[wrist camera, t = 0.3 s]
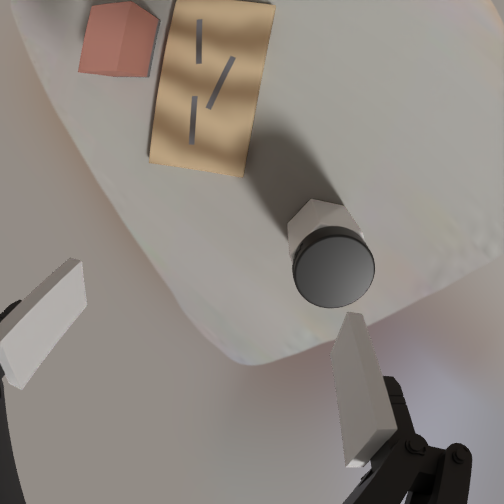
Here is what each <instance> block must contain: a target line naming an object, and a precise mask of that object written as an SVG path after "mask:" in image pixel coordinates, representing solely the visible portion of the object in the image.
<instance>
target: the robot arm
mask: <svg viewBox="0 0 504 504" xmlns="http://www.w3.org/2000/svg"><path fill="white" fill-rule="evenodd" d="M86 306H87V301H86V294H85V286H84V277H83V268H82V261H81V260H77V259H73V258H69V259H68V260H67V261H66V262H65V263H63V264H62V265H61V266H60V267H59V268H58V269H56V270H55V271H54V272H53V273H52V274H51V275H50V276H48V277H47V278H46V279H45V280H44V281H43V282H42V283H41V284H40V285H39V286H37V287H36V288H35V289H34V290H33V291H32V292H31V293H30V294H29V295H28V296H27V297H26V298H25V299H24V300H18V301H16V302H14V303H12V304H11V305H9V306H8V307H7V308H6V309H5V310H4V312H2V313H1V314H0V504H26V502H25V499H24V496H23V492H22V489H21V485H20V481H19V478H18V474H17V469H16V465H15V461H14V456H13V451H12V446H11V441H10V435H9V429H8V422H7V415H6V406H5V398H4V386H3V382H2V377H3V376H4V375H5V376H6V378H7V380H8V382H9V384H11V385H13V386H15V387H17V388H19V389H20V390H22V389H23V388H24V386H25V385H26V383H27V382H28V381H29V379H30V378H31V377H32V375H33V374H34V372H35V371H36V370H37V368H38V367H39V366H40V364H41V363H42V362H43V360H44V359H45V358H46V356H47V355H48V353H49V352H50V351H51V350H52V348H53V347H54V346H55V345H56V343H57V342H58V341H59V339H60V338H61V337H62V336H63V334H64V333H65V332H66V331H67V329H68V328H69V327H70V325H71V324H72V323H73V322H74V321H75V319H76V318H77V317H78V316H79V314H80V313H81V312H82V311H83V310H84V308H85V307H86ZM330 357H331V363H332V369H333V376H334V382H335V389H336V396H337V402H338V410H339V417H340V424H341V432H342V440H343V449H344V457H345V467H364V466H365V465H366V464H367V463H368V462H369V461H371V467H372V468H371V469H370V471H368V472H367V473H366V474H365V475H364V476H363V477H362V478H361V482H360V483H359V484H358V486H357V487H356V488H355V489H354V491H353V492H352V493H351V494H350V495H349V497H348V498H347V499H346V500H345V502H343V504H400V503H401V502H402V500H403V498H404V497H405V495H406V493H407V492H408V494H407V497H406V501H405V504H467V500H468V494H469V486H470V477H471V468H472V454H471V452H470V451H469V449H468V448H467V447H466V446H465V445H462V444H461V443H454V444H451V445H450V446H449V447H448V448H447V449H446V450H445V449H440V448H435V447H431V446H428V444H427V442H426V440H425V439H424V438H423V437H421V436H420V435H418V434H416V433H415V431H414V427H413V424H412V421H411V417H410V414H409V411H408V408H407V405H406V402H405V399H404V397H403V393H402V390H401V386H400V385H399V383H398V382H397V381H396V380H395V378H394V377H389V376H382V373H381V369H380V366H379V363H378V360H377V357H376V354H375V351H374V347H373V344H372V341H371V338H370V335H369V332H368V330H367V326H366V324H365V321H364V318H363V315H362V314H359V313H353V312H347V314H346V317H345V319H344V322H343V324H342V327H341V329H340V332H339V334H338V337H337V339H336V341H335V344H334V347H333V349H332V351H331V353H330Z"/></svg>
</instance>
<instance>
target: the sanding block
mask: <svg viewBox="0 0 504 504" xmlns="http://www.w3.org/2000/svg"><path fill="white" fill-rule="evenodd" d="M159 25H160V20H159V19H157V18H156V17H154V16H153V15H151V14H150V13H149V12H147V11H146V10H144V9H143V8H141V7H140V6H138V5H137V4H135V3H133V2H132V1H129V2H119V3H110V4H102V5H95V6H92V8H91V12H90V16H89V20H88V24H87V28H86V33H85V37H84V42H83V47H82V53H81V58H80V64H79V70H78V72H81V73H90V74H98V75H106V76H113V77H149V76H150V70H151V65H152V59H153V54H154V49H155V44H156V39H157V34H158V30H159Z"/></svg>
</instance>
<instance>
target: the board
mask: <svg viewBox="0 0 504 504" xmlns="http://www.w3.org/2000/svg"><path fill="white" fill-rule="evenodd" d="M275 9H276V5H269V4H262V3H254V2H246V1H236V0H177V1H176V5H175V9H174V13H173V17H172V21H171V26H170V30H169V35H168V40H167V44H166V49H165V54H164V60H163V65H162V71H161V76H160V82H159V88H158V95H157V101H156V108H155V115H154V123H153V130H152V139H151V147H150V157H149V163H153V164H160V165H168V166H175V167H181V168H188V169H194V170H201V171H207V172H213V173H219V174H225V175H231V176H236V177H242V178H243V176H244V171H245V165H246V160H247V154H248V148H249V143H250V138H251V132H252V127H253V121H254V116H255V111H256V105H257V100H258V95H259V89H260V84H261V79H262V74H263V69H264V64H265V59H266V54H267V49H268V44H269V39H270V34H271V29H272V24H273V19H274V14H275Z"/></svg>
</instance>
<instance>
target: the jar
mask: <svg viewBox="0 0 504 504" xmlns="http://www.w3.org/2000/svg"><path fill="white" fill-rule="evenodd" d="M287 230H288V243H289V255H290V258H291V261H292V264H293V265H292V270H293V278H294V282H295V285H296V287H297V289H298V291H299V293H300V294H301V295H302V296H303V298H305V299H306V300H307V301H308V302H310V303H312V304H314V305H316V306H319V307H323V308H339V307H343V306H346V305H349V304H351V303H353V302H355V301H356V300H358V299H359V298H360V297H361V296H363V295H364V294H365V292H366V291H367V290H368V288H369V287H370V285H371V283H372V281H373V278H374V273H375V263H374V258H373V255H372V253H371V251H370V250H369V248H368V246H367V245H366V243H365V241H364V237H363V232H362V231H361V229H360V228H359V226H358V225H357V223H356V222H355V220H354V219H353V217H352V216H351V214H350V213H349V211H348V210H347V208H346V207H345V206H343V205H339V204H334V203H329V202H325V201H320V200H315V199H310V200H309V201H308V202H307V203H306V204H305V205H304V206H303V208H302V209H301V210H300V211H299V212H298V213H297V214H296V215H295V216H294V217H293V218H292V219H291V220H290V221H289V223H288V224H287Z"/></svg>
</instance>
